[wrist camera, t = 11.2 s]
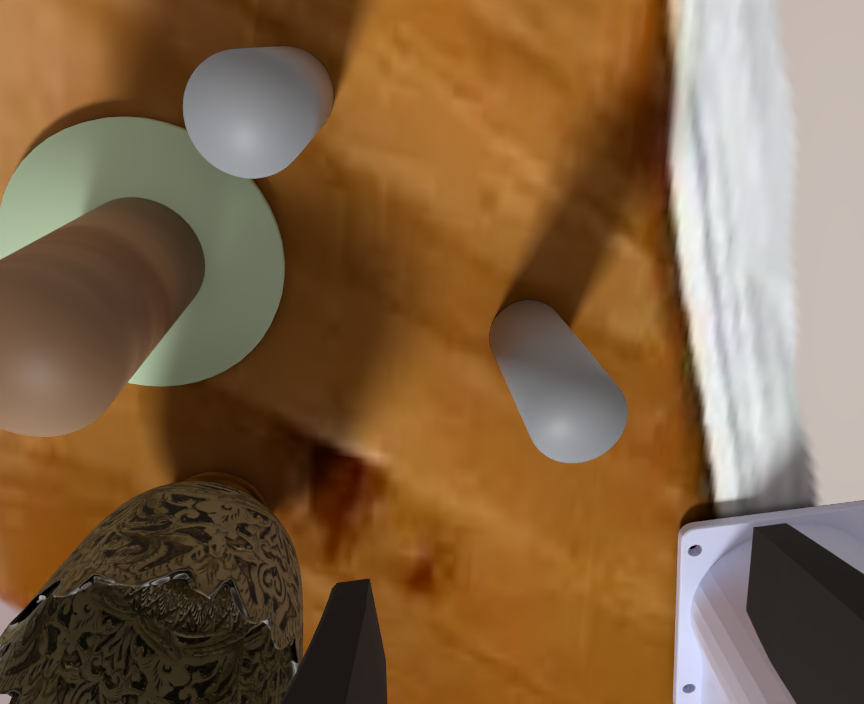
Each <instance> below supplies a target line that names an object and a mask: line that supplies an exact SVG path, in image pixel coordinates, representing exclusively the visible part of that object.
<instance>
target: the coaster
mask: <svg viewBox="0 0 864 704" xmlns="http://www.w3.org/2000/svg"><path fill="white" fill-rule="evenodd" d="M125 197H138V198H145V199H150V200H153V201H156V202H159V203H161V204H163V205H165V206H167V207H169V208H170V209H172V210H174V211H175V212H176V213H177V214H179V215H180V216H181V217H182V218H183V219H184V220H185V221H186V222H187V223H188V224H189V225H190V226H191V228H192V229H193V230H194V232H195V234H196V235H197V237H198V239H199V241H200V243H201V246H202V249H203V253H204V258H205V275H204V279H203V283H202V286H201V288H200V290H199V292H198V293H197V295H196V297H195V298H194V299H193V300H192V302H191V303H190V304H189V305H188V307H187V308H186V309H185V310H184V312H183V313H182V314H181V316H180V317H179V318H178V319H177V321H176V322H175V323H174V324H173V326H172V327H171V328H170V330H169V331H168V332H167V333H166V335H165V336H164V337H163V338H162V340H161V341H160V342H159V343H158V345H157V346H156V347H155V349H154V350H153V351H152V352H151V354H150V355H149V356H148V357H147V359H146V360H145V361H144V363H143V364H142V365H141V366H140V368H139V369H138V370H137V371H136V373H135V374H134V375H133V376H132V378H131V379H130V380H129V382H128V383H132V384H138V385H145V386H177V385H184V384H189V383H195V382H198V381H201V380H204V379H208V378H211V377H213V376H215V375H217V374H219V373H221V372H224V371H226V370H227V369H229V368H230V367H232V366H233V365H235V364H237V363H238V362H240V361H241V360H242V359H243V358H244V357H245V356H246V355H248V354H249V353H250V352H251V351H252V350H253V349H254V347H255V346H256V345H257V344H258V343H259V342H260V341H261V339H262V338H263V336H264V335H265V333H266V332H267V330H268V328H269V327H270V325H271V323H272V320H273V318H274V316H275V314H276V311H277V309H278V307H279V303H280V300H281V296H282V293H283V286H284V279H285V256H284V249H283V242H282V238H281V234H280V231H279V227H278V224H277V221H276V219H275V217H274V214H273V212H272V210H271V207H270V205H269V204H268V202H267V200H266V199H265V197H264V195H263V193H262V192H261V190H260V189H259V187H258V186H257V185H256V183H255V182H254V181H253V179H250V178H241V177H236V176H233V175H230V174H227V173H225V172H223V171H221V170H219V169H218V168H216V167H215V166H213V165H212V164H211V163H209V162H208V161H207V160H206V159H205V158H204V157H203V156H202V155H201V154H200V152H199V151H198V150H197V149H196V147H195V146H194V144H193V142H192V141H191V138H190V136H189V134H188V132H187V129H185V128H182V127H179V126H176V125H173V124H170V123H167V122H164V121H159V120H154V119H149V118H142V117H129V116H122V117H106V118H101V119H96V120H91V121H87V122H83V123H80V124H77V125H74V126H71V127H69V128H66V129H63V130H62V131H60V132H58V133H56V134H54V135H52V136H51V137H49V138H47V139H46V140H45V141H43V142H42V143H41V144H39V145H38V146H37V147H36V148H34V149H33V150H32V151H31V152H30V153H29V155H28V156H27V157H26V158H25V159H24V160H23V161H22V162H21V163H20V165H19V166H18V168H17V169H16V171H15V172H14V174H13V175H12V177H11V179H10V181H9V184H8V186H7V188H6V190H5V192H4V196H3V200H2V203H1V207H0V259H2V258H4V257H6V256H8V255H10V254H12V253H14V252H15V251H17V250H19V249H21V248H23V247H25V246H27V245H28V244H30V243H32V242H34V241H36V240H38V239H39V238H41V237H43V236H45V235H47V234H49V233H51V232H52V231H54V230H56V229H58V228H60V227H62V226H64V225H65V224H67V223H69V222H71V221H73V220H75V219H76V218H78V217H80V216H82V215H84V214H86V213H88V212H89V211H91V210H93V209H95V208H97V207H99V206H101V205H102V204H104V203H106V202H109V201H111V200H114V199H119V198H125Z"/></svg>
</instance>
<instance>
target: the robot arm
mask: <svg viewBox="0 0 864 704" xmlns="http://www.w3.org/2000/svg"><path fill="white" fill-rule="evenodd" d="M693 545H697V546H696V547H695V548H693V549H689V548H690V547H691V546H693ZM673 703H674V704H864V500H862V501H854V502H846V503H839V504H831V505H823V506H815V507H807V508H800V509H792V510H784V511H776V512H769V513H761V514H753V515H745V516H737V517H730V518H722V519H714V520H706V521H698V522H692V523H688V524H686V525H684V526H683V527H682V528H681V529H680V531H679V534H678V558H677V589H676V620H675V651H674V683H673ZM279 704H387V682H386V659H385V654H384V649H383V644H382V639H381V634H380V629H379V623H378V618H377V613H376V608H375V603H374V598H373V593H372V588H371V583H370V579H363V580H356V581H348V582H341V583H337V584H336V585H335V586H334V587H333V588H332V591H331V594H330V596H329V599H328V602H327V605H326V607H325V610H324V612H323V615H322V617H321V620H320V622H319V625H318V627H317V629H316V631H315V634H314V636H313V638H312V640H311V643H310V645H309V647H308V649H307V651H306V653H305V655H304V657H303V659H302V661H301V663H300V665H299V668H298V670H297V672H296V674H295V676H294V678H293V680H292V682H291V684H290V685H289V687H288V689H287V691H286V693H285V695H284V696H283V698H282V700H281V702H280V703H279Z"/></svg>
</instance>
